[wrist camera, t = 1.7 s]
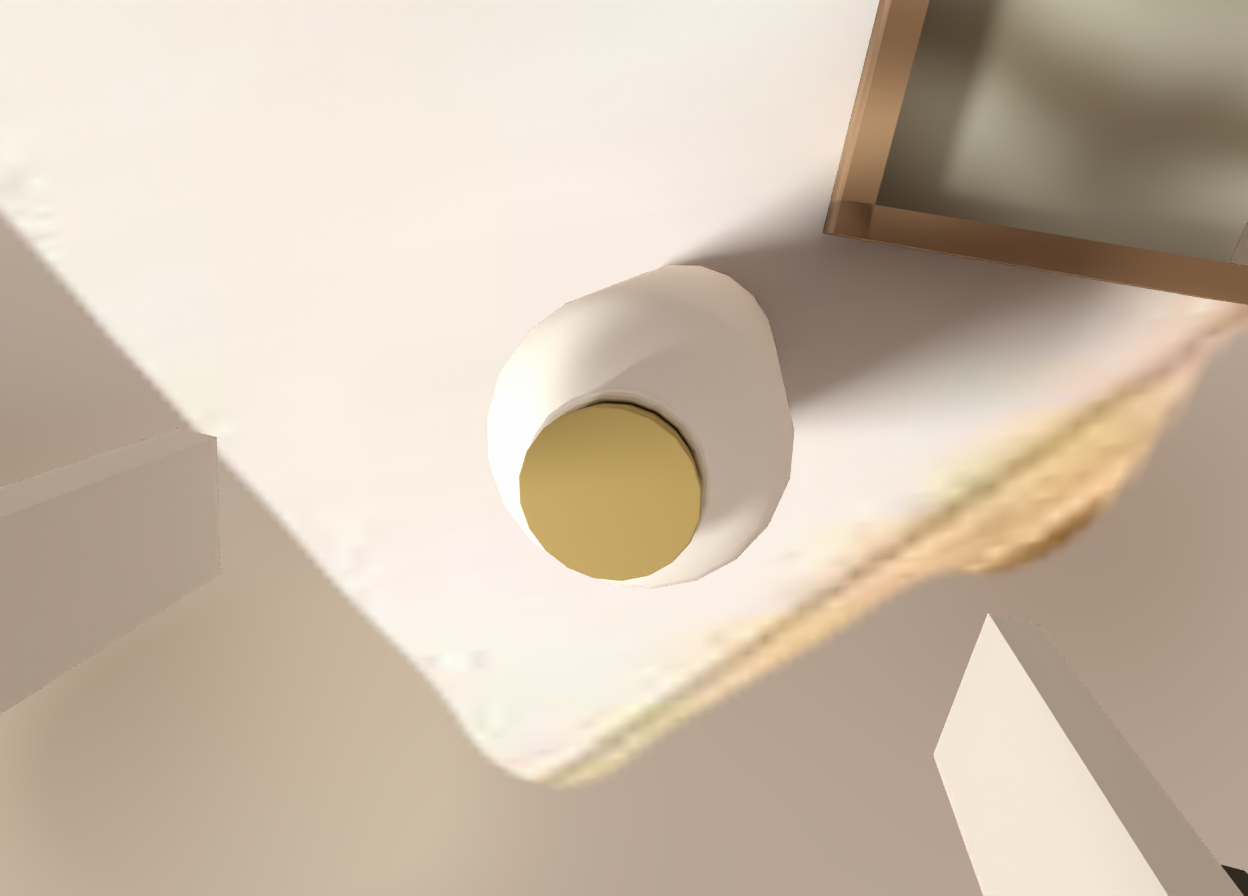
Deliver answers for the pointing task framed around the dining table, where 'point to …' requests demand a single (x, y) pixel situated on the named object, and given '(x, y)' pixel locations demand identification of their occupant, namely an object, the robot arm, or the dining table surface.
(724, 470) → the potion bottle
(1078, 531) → the dining table surface
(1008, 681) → the robot arm
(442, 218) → the dining table surface
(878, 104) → the u rest
